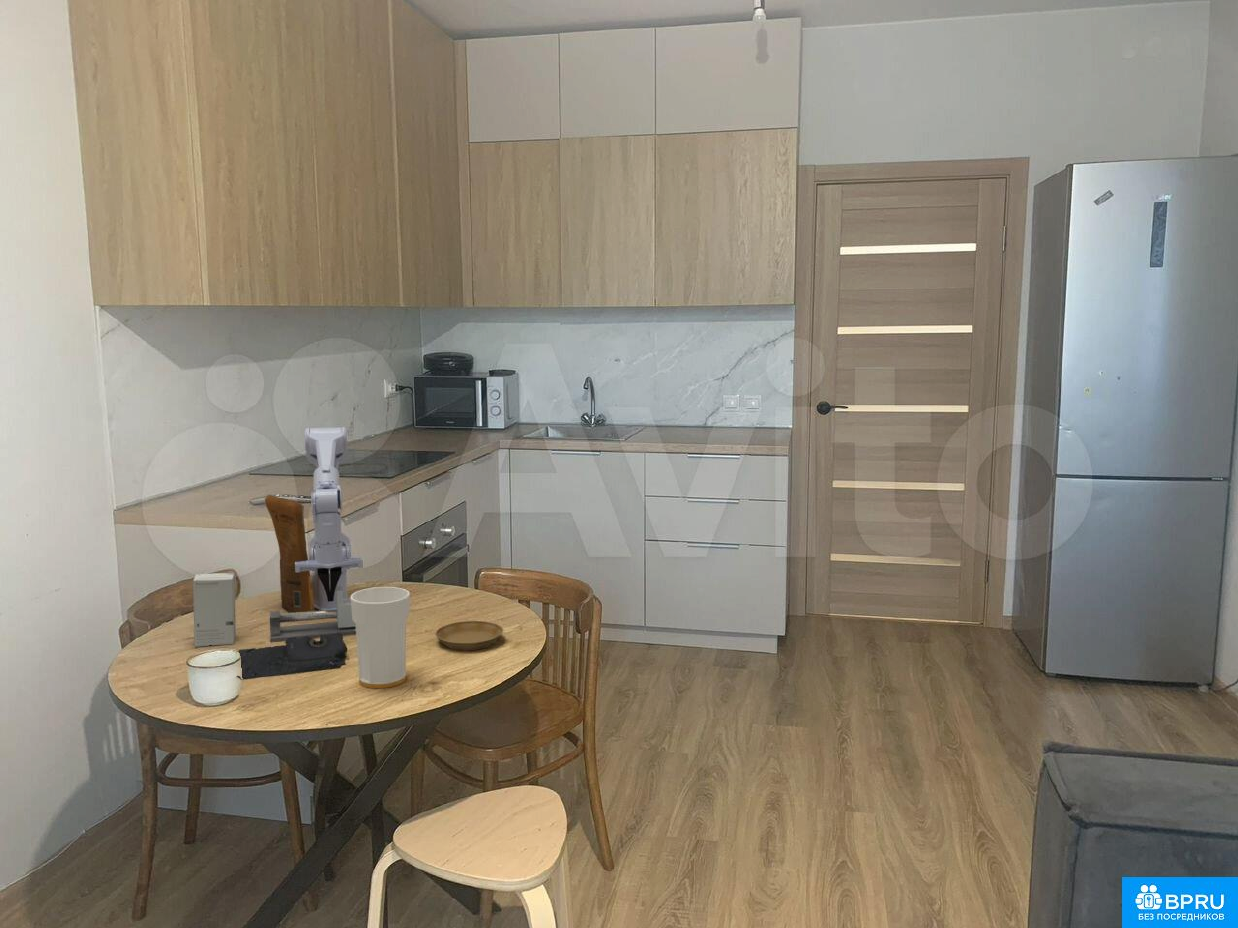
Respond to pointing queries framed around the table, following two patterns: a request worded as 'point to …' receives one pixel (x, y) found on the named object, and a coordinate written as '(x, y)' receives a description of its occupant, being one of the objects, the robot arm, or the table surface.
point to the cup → (381, 635)
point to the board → (311, 631)
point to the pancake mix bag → (291, 553)
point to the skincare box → (214, 609)
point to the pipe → (297, 618)
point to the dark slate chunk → (294, 657)
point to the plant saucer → (469, 634)
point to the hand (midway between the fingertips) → (330, 600)
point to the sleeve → (344, 610)
